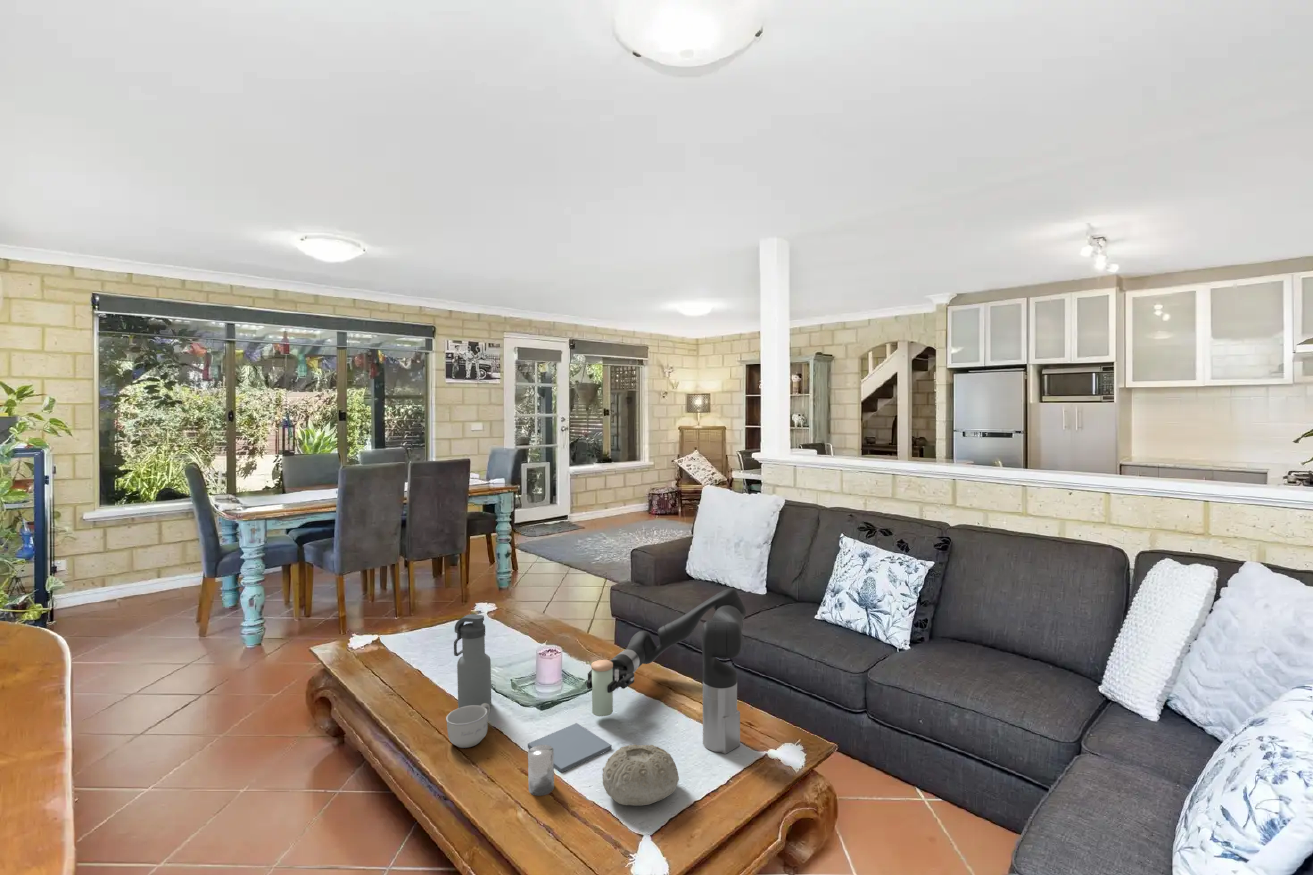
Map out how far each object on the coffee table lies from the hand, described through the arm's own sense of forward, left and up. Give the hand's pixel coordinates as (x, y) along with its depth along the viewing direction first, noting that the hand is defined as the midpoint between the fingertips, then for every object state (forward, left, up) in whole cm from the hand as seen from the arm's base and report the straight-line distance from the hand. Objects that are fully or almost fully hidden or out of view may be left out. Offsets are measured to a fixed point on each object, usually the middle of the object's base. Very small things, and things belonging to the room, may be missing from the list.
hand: (598, 687), depth 180 cm
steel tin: (-15, +29, -11) cm, 34 cm away
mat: (-5, +14, -10) cm, 18 cm away
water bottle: (+34, +22, -11) cm, 42 cm away
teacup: (+17, +31, -11) cm, 37 cm away
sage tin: (+1, -2, -8) cm, 8 cm away
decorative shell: (-33, +13, -11) cm, 37 cm away
